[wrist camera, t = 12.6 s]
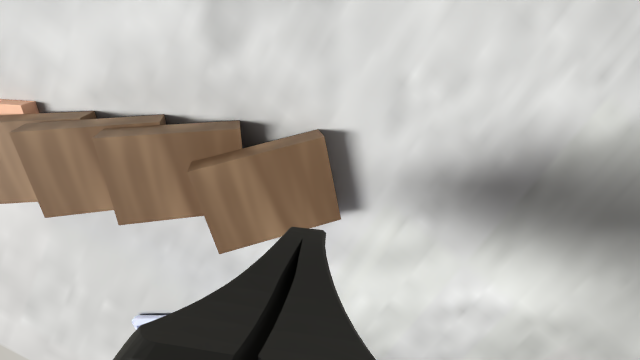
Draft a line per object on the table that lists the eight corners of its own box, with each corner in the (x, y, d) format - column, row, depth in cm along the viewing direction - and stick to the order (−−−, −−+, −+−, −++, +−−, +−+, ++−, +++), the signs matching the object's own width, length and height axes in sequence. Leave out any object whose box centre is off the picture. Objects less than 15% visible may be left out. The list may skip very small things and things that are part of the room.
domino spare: (324, 136, 17) (186, 172, 17) (340, 219, 20) (219, 254, 19) (318, 129, 19) (191, 161, 18) (334, 206, 21) (220, 238, 20)
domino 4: (79, 118, 19) (-56, 124, 18) (106, 197, 21) (-14, 204, 21) (94, 110, 20) (-31, 116, 20) (118, 185, 23) (6, 192, 22)
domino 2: (240, 128, 18) (92, 138, 17) (248, 210, 20) (118, 225, 19) (239, 120, 19) (103, 128, 18) (247, 197, 22) (126, 210, 20)
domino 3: (159, 122, 18) (8, 132, 17) (176, 202, 21) (45, 217, 19) (164, 114, 20) (25, 123, 18) (180, 190, 22) (57, 203, 21)
